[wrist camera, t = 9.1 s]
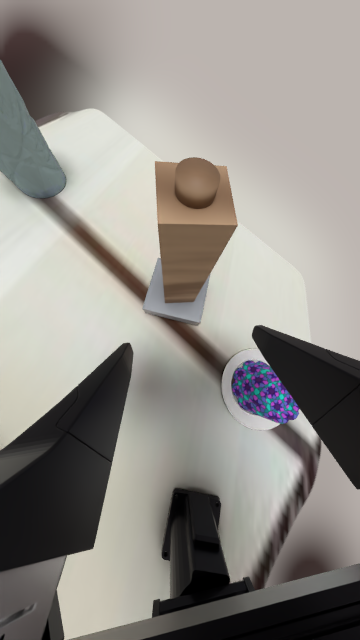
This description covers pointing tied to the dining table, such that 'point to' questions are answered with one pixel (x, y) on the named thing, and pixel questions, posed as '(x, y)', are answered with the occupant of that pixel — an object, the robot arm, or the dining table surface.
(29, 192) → the green cup
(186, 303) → the base brick
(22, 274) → the dining table surface
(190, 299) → the column
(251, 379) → the purple patterned hat
